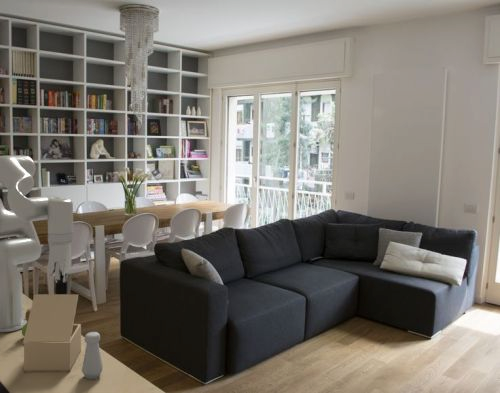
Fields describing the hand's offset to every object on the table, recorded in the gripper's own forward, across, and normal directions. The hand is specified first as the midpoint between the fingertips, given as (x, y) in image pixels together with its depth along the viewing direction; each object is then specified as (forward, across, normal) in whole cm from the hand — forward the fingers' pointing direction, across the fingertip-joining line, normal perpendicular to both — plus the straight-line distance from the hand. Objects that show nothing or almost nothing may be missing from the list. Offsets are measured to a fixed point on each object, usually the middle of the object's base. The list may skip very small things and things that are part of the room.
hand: (61, 293), depth 156 cm
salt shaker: (+19, +18, +13) cm, 29 cm away
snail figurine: (+19, -10, -13) cm, 25 cm away
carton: (+19, +8, -1) cm, 20 cm away
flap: (+4, +10, 0) cm, 11 cm away
